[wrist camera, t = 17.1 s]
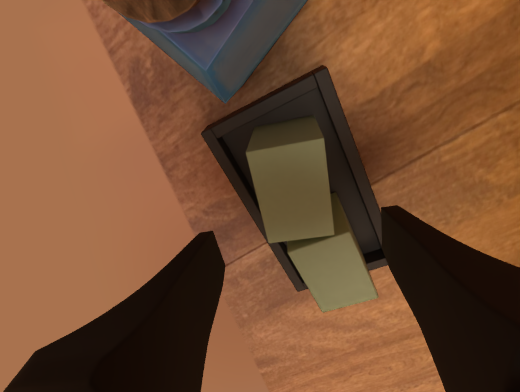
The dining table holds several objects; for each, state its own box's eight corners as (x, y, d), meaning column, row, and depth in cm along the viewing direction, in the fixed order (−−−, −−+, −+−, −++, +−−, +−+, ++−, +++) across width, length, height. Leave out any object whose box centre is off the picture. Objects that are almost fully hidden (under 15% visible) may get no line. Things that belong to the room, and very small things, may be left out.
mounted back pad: (315, 264, 24) (322, 313, 20) (286, 210, 22) (287, 252, 17) (361, 249, 23) (379, 298, 18) (335, 191, 20) (349, 231, 16)
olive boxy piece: (271, 202, 21) (268, 243, 17) (254, 126, 19) (245, 152, 14) (323, 195, 21) (335, 235, 16) (314, 114, 18) (324, 137, 14)
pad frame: (296, 277, 26) (297, 292, 24) (206, 126, 19) (200, 133, 18) (391, 247, 23) (398, 262, 22) (323, 64, 17) (326, 66, 15)
